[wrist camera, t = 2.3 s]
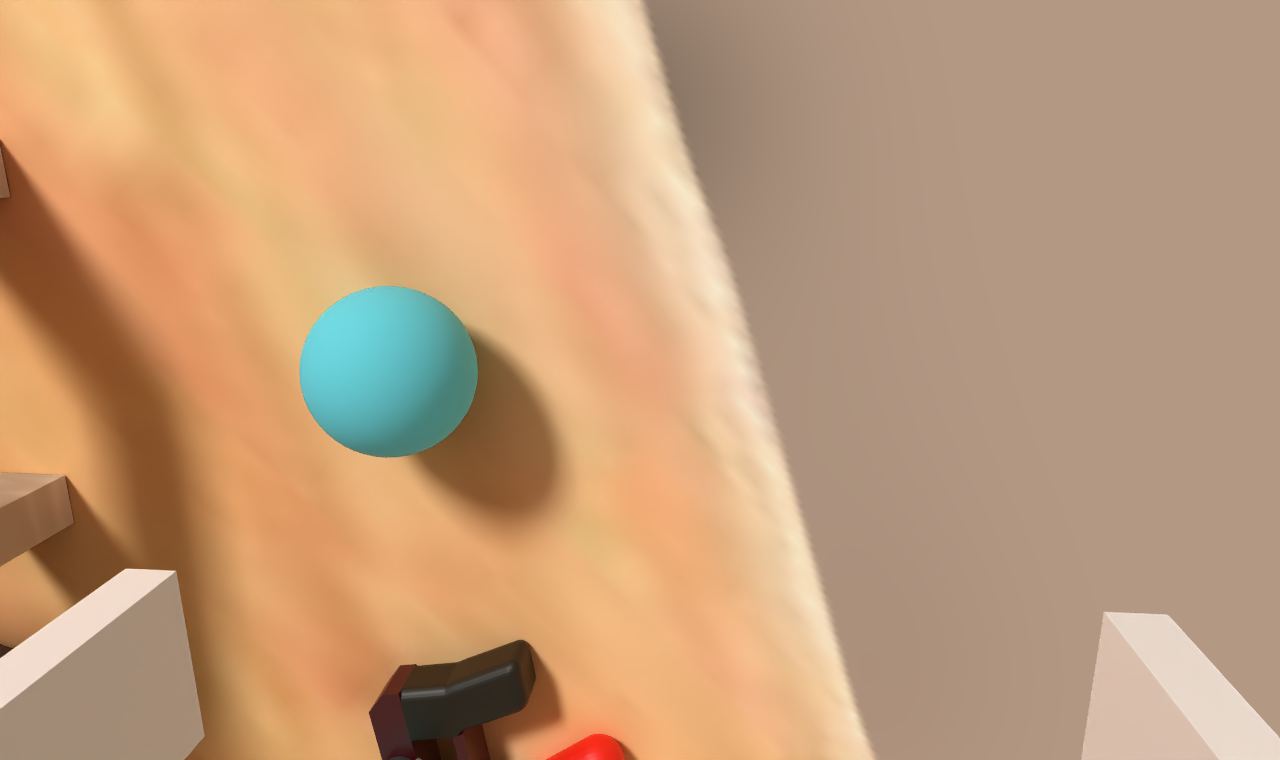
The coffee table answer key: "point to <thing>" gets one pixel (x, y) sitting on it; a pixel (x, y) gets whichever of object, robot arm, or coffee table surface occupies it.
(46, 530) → the bridge
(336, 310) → the ball
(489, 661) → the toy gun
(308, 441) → the coffee table surface
